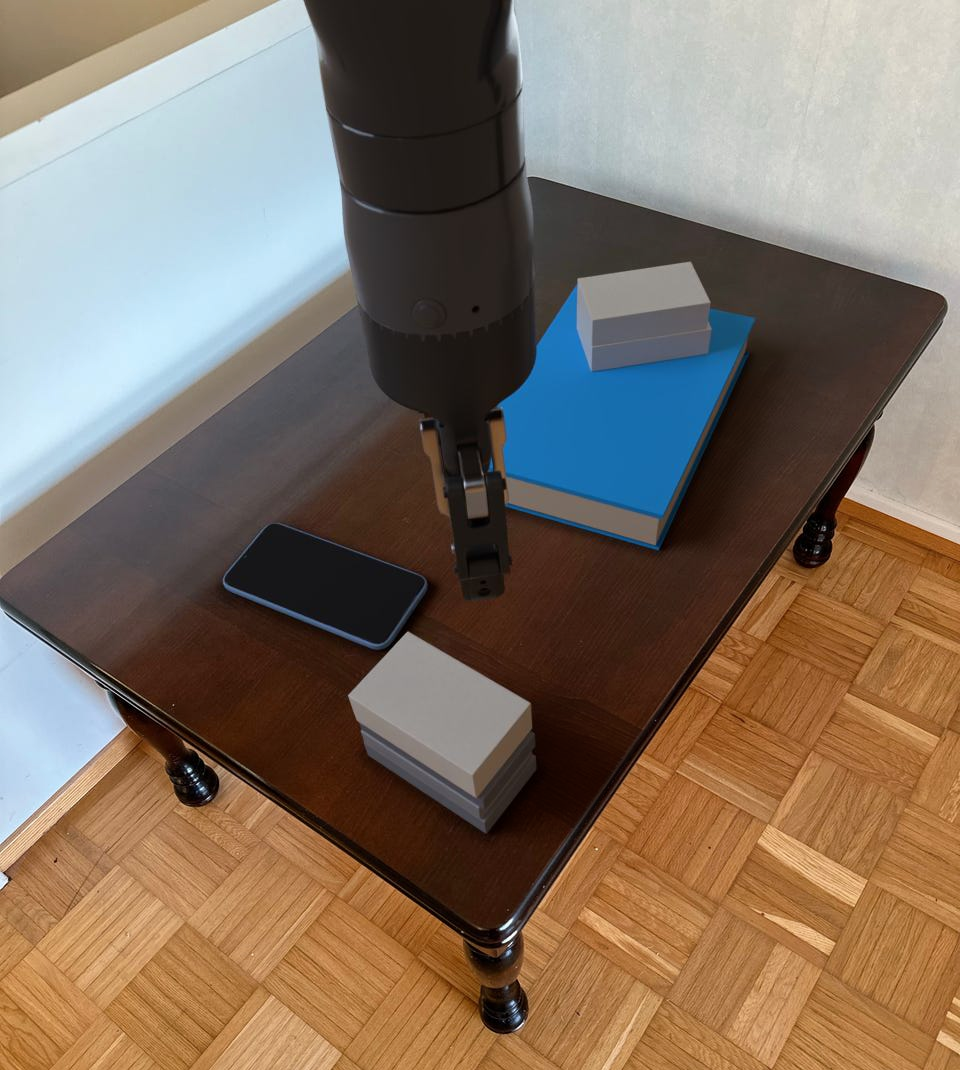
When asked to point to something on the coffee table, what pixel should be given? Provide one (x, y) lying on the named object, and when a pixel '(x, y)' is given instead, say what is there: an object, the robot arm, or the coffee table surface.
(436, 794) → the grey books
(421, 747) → the light grey block
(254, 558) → the smartphone
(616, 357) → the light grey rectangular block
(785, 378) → the coffee table surface
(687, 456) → the book
